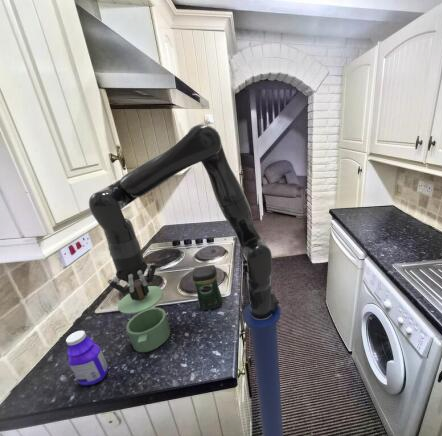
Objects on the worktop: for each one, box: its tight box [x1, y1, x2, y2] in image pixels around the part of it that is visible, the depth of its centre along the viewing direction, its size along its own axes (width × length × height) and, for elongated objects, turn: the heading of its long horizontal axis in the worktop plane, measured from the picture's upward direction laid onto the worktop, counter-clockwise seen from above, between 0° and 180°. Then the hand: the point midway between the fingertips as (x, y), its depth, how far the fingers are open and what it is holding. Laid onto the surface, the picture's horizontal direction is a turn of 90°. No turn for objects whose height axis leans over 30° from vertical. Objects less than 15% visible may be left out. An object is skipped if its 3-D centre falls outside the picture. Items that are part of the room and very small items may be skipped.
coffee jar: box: [192, 264, 223, 311], centre depth 96 cm, size 10×8×19 cm
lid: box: [117, 282, 164, 315], centre depth 76 cm, size 13×13×7 cm
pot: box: [125, 304, 171, 353], centre depth 83 cm, size 12×17×8 cm
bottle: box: [65, 330, 109, 386], centre depth 68 cm, size 7×6×17 cm
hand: (140, 296), depth 77 cm, fingers closed on lid, 2 cm apart
